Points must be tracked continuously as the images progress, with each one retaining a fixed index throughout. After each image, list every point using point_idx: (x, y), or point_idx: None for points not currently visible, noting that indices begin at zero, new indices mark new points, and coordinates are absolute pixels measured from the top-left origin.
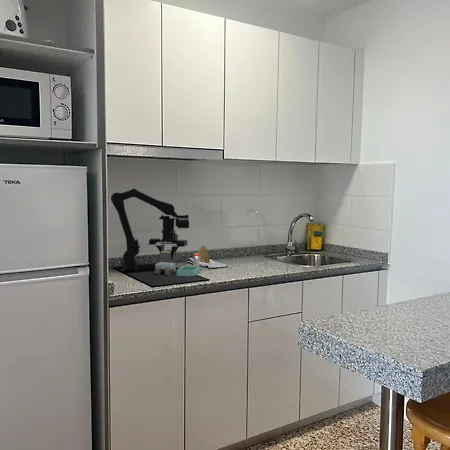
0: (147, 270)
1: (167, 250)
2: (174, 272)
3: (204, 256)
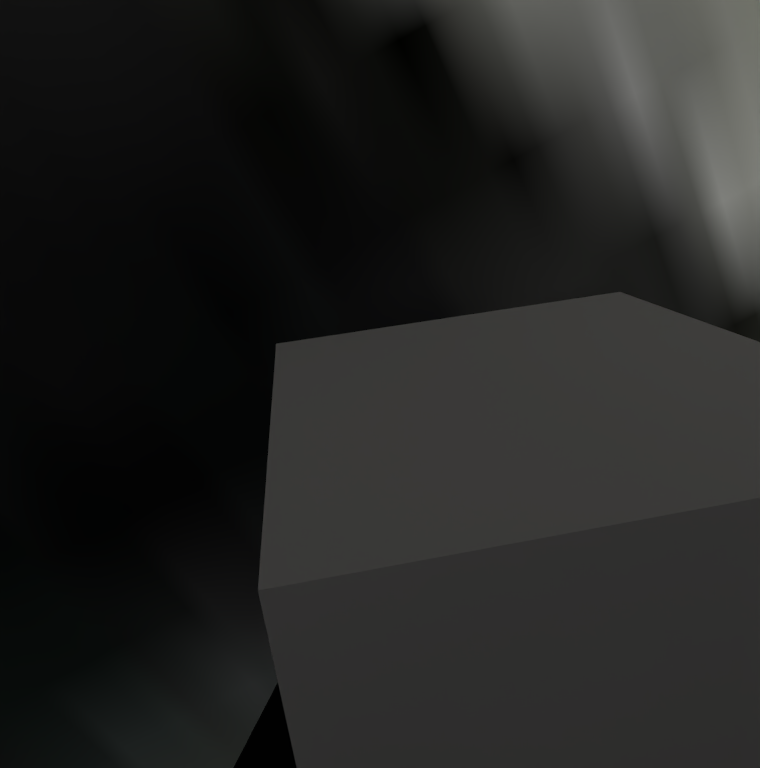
0: (37, 699)
1: (432, 753)
2: None
3: None
